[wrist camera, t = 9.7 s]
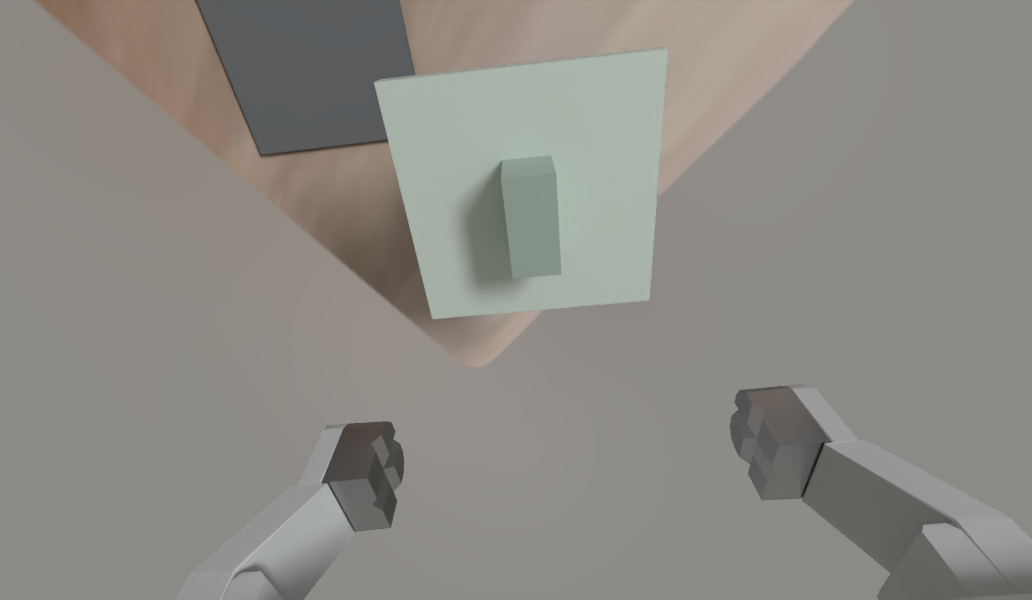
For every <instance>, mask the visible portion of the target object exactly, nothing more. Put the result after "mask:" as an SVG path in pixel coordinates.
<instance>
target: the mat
mask: <svg viewBox="0 0 1032 600" xmlns="http://www.w3.org/2000/svg"><path fill="white" fill-rule="evenodd" d="M197 2H198V4H199V7H200V9H201V11H202V14H203V16H204V19H205V21H206V23H207V26H208V28H209V31H210V33H211V35H212V38H213V40H214V43H215V45H216V47H217V50H218V52H219V55H220V57H221V59H222V62H223V64H224V67H225V69H226V71H227V74H228V76H229V79H230V81H231V84H232V86H233V88H234V91H235V93H236V96H237V98H238V100H239V103H240V105H241V108H242V110H243V112H244V115H245V117H246V120H247V122H248V124H249V127H250V129H251V132H252V134H253V136H254V139H255V141H256V144H257V146H258V149H259V151H260V153H261V155H264V154H272V153H280V152H289V151H297V150H305V149H313V148H321V147H330V146H338V145H346V144H354V143H362V142H371V141H379V140H387V139H388V138H387V134H386V130H385V125H384V121H383V117H382V113H381V109H380V105H379V101H378V97H377V93H376V89H375V85H374V82H376V81H378V80H380V79H386V78H395V77H404V76H412V75H415V73H414V68H413V63H412V59H411V54H410V49H409V44H408V40H407V35H406V30H405V26H404V21H403V16H402V11H401V7H400V2H399V0H197Z"/></svg>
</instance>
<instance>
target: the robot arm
mask: <svg viewBox="0 0 1032 600" xmlns="http://www.w3.org/2000/svg"><path fill="white" fill-rule="evenodd" d="M735 404H736V406H737V407H738V409H739V410H738V411H737V412H735V414H733V415H732V417H731V423H730V431H731V438H732V441H733V444H734V447H735V449H736V451H737V453H738V455H739V457H740V458H742V459H743V460H745V461H746V462H748V463H749V464H750V468H749V472H748V475H749V477H750V478H751V480H752V482H753V484H754V486H755V488H756V490H757V492H758V494H759V495H760V497H761V499H762V500H779V499H799V498H803V500H802V501H804V502H805V503H806V504H807V505H808V506H810V507H811V508H812V509H813V510H814V511H816V512H817V513H818V514H819V515H820V516H822V517H823V518H824V519H825V520H827V521H828V522H829V523H830V524H831V525H833V526H834V527H835V528H836V529H838V530H839V531H840V532H841V533H842V534H844V535H845V536H846V537H847V538H848V539H850V540H851V541H852V542H853V543H855V544H856V545H857V546H858V547H859V548H861V549H862V550H863V551H864V552H865V553H867V554H868V555H869V556H870V557H872V558H873V559H874V560H875V561H876V562H878V563H879V564H880V565H882V567H884V568H885V569H886V570H887V571H889V572H890V573H891V574H890V576H889V577H888V579H887V580H886V582H885V583H884V585H883V586H882V588H881V589H880V591H879V593H878V596H877V598H878V599H879V600H1032V540H1031V539H1030V538H1029V537H1028V536H1027V535H1026V534H1025V533H1024V532H1023V531H1022V530H1021V529H1020V528H1019V527H1018V526H1017V525H1016V524H1015V523H1014V522H1013V521H1012V520H1011V519H1010V518H1009V517H1007V516H1006V515H1004V514H1002V513H1000V512H998V511H996V510H994V509H993V508H991V507H989V506H987V505H985V504H983V503H982V502H980V501H978V500H976V499H974V498H972V497H970V496H969V495H966V494H965V493H963V492H961V491H959V490H957V489H955V488H954V487H952V486H950V485H948V484H946V483H944V482H943V481H941V480H939V479H937V478H935V477H933V476H931V475H930V474H928V473H926V472H924V471H922V470H920V469H918V468H916V467H915V466H913V465H911V464H909V463H907V462H905V461H903V460H902V459H900V458H898V457H896V456H894V455H893V454H891V453H889V452H887V451H885V450H883V449H881V448H879V447H878V446H876V445H874V444H872V443H870V442H868V441H866V440H858V439H857V438H856V437H855V436H854V435H853V433H852V432H851V431H850V430H849V429H848V427H847V426H846V425H845V424H844V422H843V421H842V420H841V419H840V418H839V416H838V415H837V414H836V413H835V412H834V410H833V409H832V408H831V407H830V406H829V404H828V403H827V402H826V401H825V400H824V398H823V397H822V396H821V395H820V393H819V392H818V391H817V390H816V389H815V387H813V386H812V385H810V384H799V385H790V386H777V387H767V388H757V389H746V390H740V391H739V392H738V393H737V394H736V398H735ZM394 435H395V430H394V427H393V425H392V423H391V422H388V421H386V422H369V423H353V424H344V425H328V426H327V427H326V428H324V429H323V431H322V432H321V434H320V437H319V439H318V441H317V443H316V445H315V447H314V450H313V452H312V454H311V456H310V458H309V461H308V463H307V465H306V467H305V469H304V472H303V474H302V476H301V478H300V480H299V482H298V485H297V486H291V487H289V488H288V489H287V490H286V491H285V492H284V493H282V494H281V495H280V496H279V497H278V498H277V499H276V500H274V501H273V502H272V503H271V504H270V505H269V506H268V507H266V508H265V509H264V510H263V511H262V512H261V513H260V514H258V515H257V516H256V517H255V518H254V519H253V520H252V521H250V522H249V523H248V524H247V525H246V526H245V527H244V528H242V529H241V530H240V531H239V532H238V533H237V534H236V535H234V536H233V537H232V538H231V539H230V540H229V541H228V542H227V543H225V544H224V545H223V546H222V547H221V548H220V549H219V550H218V551H216V552H215V553H214V554H213V555H212V556H211V557H209V558H208V559H207V560H206V561H205V562H204V563H202V564H201V565H200V566H199V567H198V568H197V569H196V570H194V571H193V572H192V573H191V574H190V576H189V577H188V579H187V581H186V583H185V585H184V586H183V588H182V590H181V591H180V593H179V595H178V596H177V598H176V600H304V598H305V597H306V595H308V593H309V592H310V591H311V589H312V588H313V587H314V586H315V584H316V583H317V582H318V580H319V579H320V578H321V577H322V575H323V574H324V573H325V571H326V570H327V569H328V568H329V566H330V565H331V564H332V562H333V561H334V560H335V559H336V557H337V556H338V555H339V553H340V552H341V551H342V550H343V548H344V547H345V546H346V545H347V543H348V542H349V541H350V539H351V538H352V537H353V536H354V534H355V533H354V532H355V531H365V530H375V529H384V528H391V525H392V520H393V516H394V512H395V508H396V504H397V499H396V497H395V495H394V491H395V489H396V488H397V487H398V486H399V485H400V484H401V482H402V478H403V473H404V456H403V450H402V448H401V445H400V444H399V443H398V442H396V441H395V440H394V439H393V438H394Z"/></svg>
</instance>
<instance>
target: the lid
mask: <svg viewBox="0 0 1032 600" xmlns="http://www.w3.org/2000/svg"><path fill="white" fill-rule="evenodd" d="M667 54H668V49H666V48H661V47H658V48H649V49H641V50H632V51H623V52H614V53H606V54H597V55H588V56H579V57H570V58H562V59H553V60H544V61H535V62H526V63H518V64H509V65H500V66H491V67H483V68H474V69H465V70H456V71H447V72H439V73H430V74H421V75H412V76H404V77H395V78H386V79H380V80H378V81H376V82H374V85H375V89H376V93H377V97H378V101H379V105H380V109H381V113H382V117H383V121H384V125H385V130H386V134H387V138H388V142H389V146H390V150H391V154H392V158H393V162H394V166H395V170H396V174H397V178H398V182H399V186H400V190H401V194H402V198H403V203H404V207H405V211H406V215H407V219H408V223H409V227H410V231H411V235H412V239H413V243H414V247H415V251H416V255H417V259H418V263H419V267H420V271H421V276H422V280H423V284H424V288H425V292H426V296H427V300H428V304H429V308H430V312H431V316H432V319H441V318H452V317H464V316H475V315H486V314H498V313H509V312H520V311H532V310H543V309H555V308H566V307H576V306H587V305H588V306H589V305H600V304H611V303H623V302H634V301H646V300H649V299H650V285H651V271H652V258H653V243H654V231H655V217H656V203H657V190H658V176H659V162H660V149H661V135H662V122H663V108H664V94H665V81H666V67H667Z"/></svg>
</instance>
